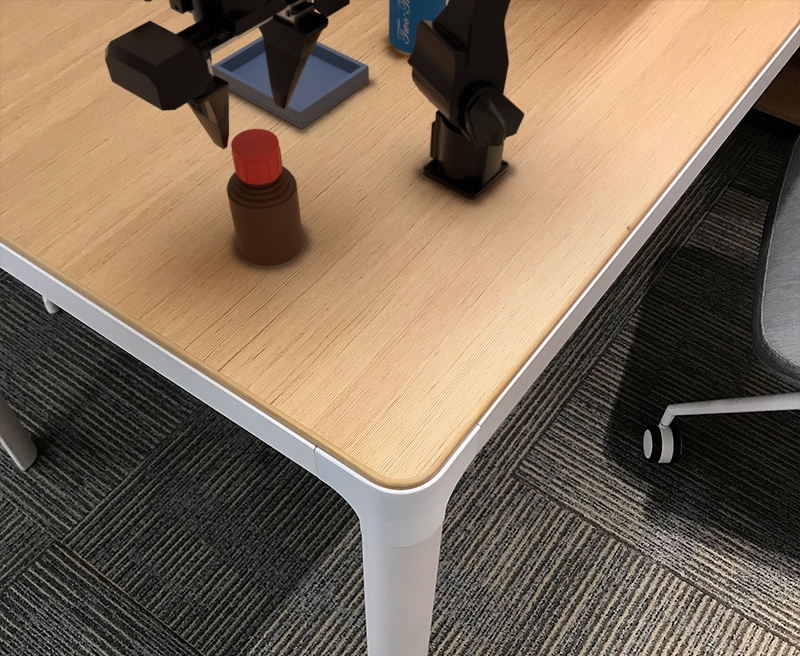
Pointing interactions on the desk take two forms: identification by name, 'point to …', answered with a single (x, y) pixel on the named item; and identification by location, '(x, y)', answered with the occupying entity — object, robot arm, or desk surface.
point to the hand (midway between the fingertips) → (251, 125)
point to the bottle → (266, 218)
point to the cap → (256, 156)
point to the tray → (315, 91)
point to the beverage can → (410, 20)
